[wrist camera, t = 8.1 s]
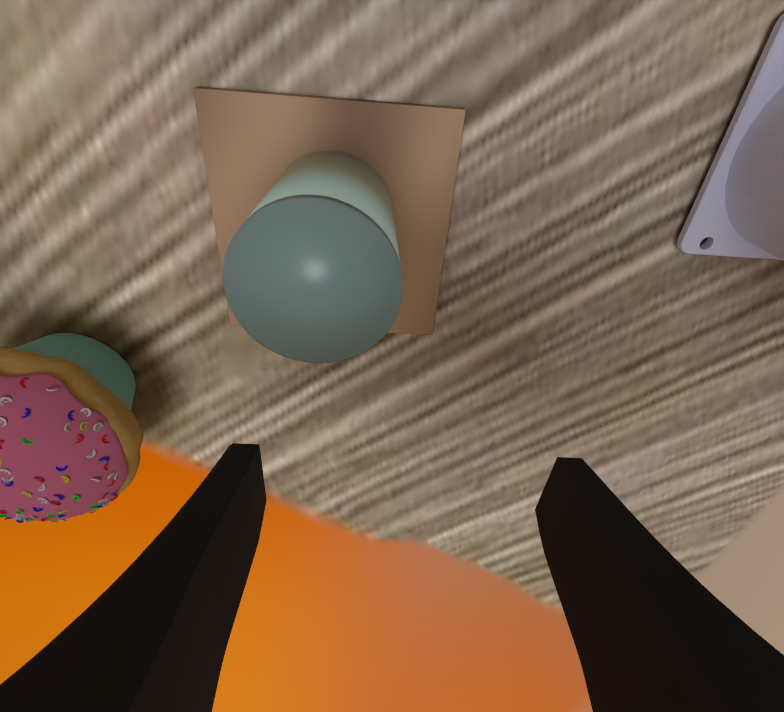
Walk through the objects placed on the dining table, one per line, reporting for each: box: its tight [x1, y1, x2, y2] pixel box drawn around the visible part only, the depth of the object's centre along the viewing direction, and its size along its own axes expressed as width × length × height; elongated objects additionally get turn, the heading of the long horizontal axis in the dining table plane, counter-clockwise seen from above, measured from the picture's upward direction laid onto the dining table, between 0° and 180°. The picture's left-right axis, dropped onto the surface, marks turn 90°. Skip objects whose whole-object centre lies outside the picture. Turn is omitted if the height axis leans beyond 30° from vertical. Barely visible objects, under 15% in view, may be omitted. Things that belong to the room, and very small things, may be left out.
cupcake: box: [0, 333, 143, 523], centre depth 17 cm, size 9×8×12 cm
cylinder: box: [223, 151, 403, 363], centre depth 14 cm, size 5×5×6 cm
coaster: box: [193, 87, 465, 335], centre depth 18 cm, size 9×9×1 cm
